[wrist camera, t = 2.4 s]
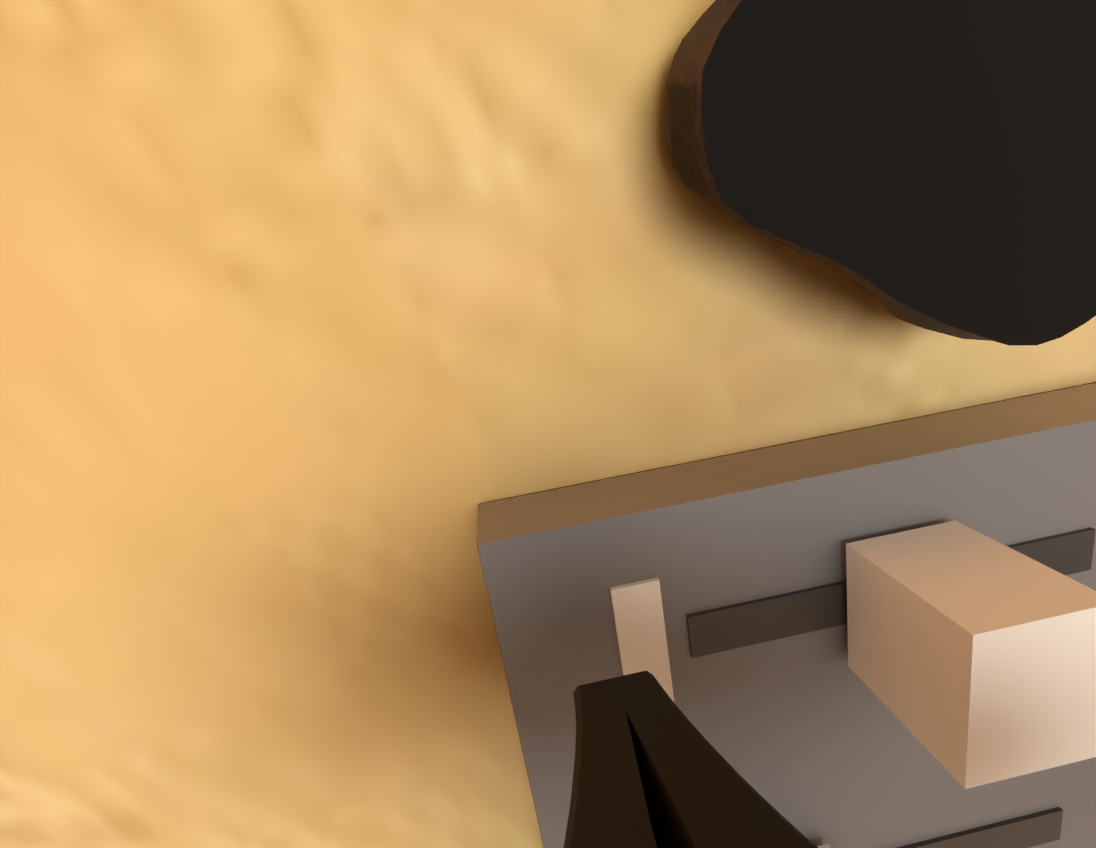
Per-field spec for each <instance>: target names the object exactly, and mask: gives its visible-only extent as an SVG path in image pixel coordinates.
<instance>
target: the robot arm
mask: <svg viewBox="0 0 1096 848" xmlns="http://www.w3.org/2000/svg"><path fill="white" fill-rule="evenodd" d="M573 696H574V702H575V713H576V743H575V761H574V772H573V782H572V792H571V802H570V809H569V816H568V822H567V829H566V835H565V841H564V847H563V848H818V847H817V846H816V845H814V844H813V843H812V842H811V841H810V840H809V839H808V838H806V837H805V836H804V835H803V834H802V833H801V832H800V831H799V830H798V829H796V828H795V827H794V826H793V825H792V824H791V823H790V822H789V821H788V820H786V819H785V818H784V817H783V816H782V815H781V814H780V813H779V812H778V811H777V810H776V809H775V808H774V807H773V806H772V805H770V804H769V803H768V802H767V801H766V800H765V799H764V798H763V797H762V796H761V795H760V794H759V793H758V792H757V791H756V790H755V789H754V788H753V787H752V786H751V785H750V784H749V783H748V782H747V781H746V780H745V779H744V778H743V777H742V776H741V775H740V774H739V773H738V772H737V771H736V770H735V769H734V768H733V767H732V766H731V765H730V764H729V763H728V762H727V761H726V760H725V759H724V758H723V757H722V756H721V755H720V754H719V752H718V751H717V750H716V749H715V748H714V747H713V746H712V745H711V744H710V743H709V742H708V741H707V740H706V739H705V738H704V736H703V735H702V734H701V733H700V732H699V731H698V730H697V729H696V728H695V726H694V725H693V724H692V723H691V722H690V721H689V719H688V718H687V717H686V716H685V715H684V714H683V713H682V711H681V710H680V709H679V708H678V707H677V705H676V704H675V703H674V702H673V701H672V699H671V698H670V697H669V695H668V694H667V693H666V692H665V690H664V689H663V688H662V686H661V685H660V684H659V682H658V681H657V680H656V678H655V677H654V675H653V674H651V673H649V672H648V671H642V672H637V673H633V674H628V675H624V676H619V677H615V678H610V679H606V680H602V681H597V682H593V683H588V684H584V685H579V686H578V687H577V688H576V689H575V691H574V692H573Z"/></svg>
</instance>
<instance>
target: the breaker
mask: <svg viewBox="0 0 1096 848" xmlns="http://www.w3.org/2000/svg"><path fill="white" fill-rule="evenodd" d="M818 848H830V846H829V844H826V845H822V846H818Z"/></svg>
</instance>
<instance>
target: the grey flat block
mask: <svg viewBox="0 0 1096 848" xmlns="http://www.w3.org/2000/svg"><path fill="white" fill-rule="evenodd" d="M955 520H956V521H958V522H960V523H962V524H964V525H966V526H968V527H970V528H972V529H974V530H976V531H978V532H980V533H982V534H984V535H986V536H988V537H990V538H992V539H994V540H996V541H998V542H1000V543H1002V544H1004V545H1006V546H1008V547H1010V548H1012V549H1014V550H1016V551H1018V552H1020V553H1022V554H1024V555H1026V556H1027V557H1029V558H1031V559H1033V560H1035V561H1037V562H1039V563H1041V564H1043V565H1045V566H1047V567H1049V568H1051V569H1053V570H1055V571H1057V572H1059V573H1061V574H1063V575H1065V576H1067V577H1069V578H1071V579H1073V580H1075V581H1077V582H1079V583H1081V584H1083V585H1085V586H1087V587H1089V588H1091V589H1093V590H1095V591H1096V383H1091V384H1086V385H1081V386H1076V387H1070V388H1065V389H1060V390H1055V391H1050V392H1045V393H1040V394H1035V395H1030V396H1025V397H1020V398H1015V399H1010V400H1004V401H999V402H994V403H989V404H984V405H979V406H974V407H969V408H964V409H959V410H954V411H949V412H944V413H939V414H933V415H928V416H923V417H918V418H913V419H908V420H903V421H898V422H893V423H888V424H883V425H878V426H873V427H867V428H862V429H857V430H852V431H847V432H842V433H837V434H832V435H827V436H822V437H817V438H812V439H807V440H802V441H796V442H791V443H786V444H781V445H776V446H771V447H766V448H761V449H756V450H751V451H746V452H741V453H736V454H730V455H725V456H720V457H715V458H710V459H705V460H700V461H695V462H690V463H685V464H680V465H675V466H670V467H665V468H659V469H654V470H649V471H644V472H639V473H634V474H629V475H624V476H619V477H614V478H609V479H604V480H599V481H593V482H588V483H583V484H578V485H573V486H568V487H563V488H558V489H553V490H548V491H543V492H538V493H533V494H528V495H522V496H517V497H512V498H507V499H502V500H497V501H492V502H487V503H482V504H478V535H477V546H478V551H479V555H480V560H481V564H482V569H483V574H484V578H485V583H486V587H487V592H488V596H489V601H490V605H491V610H492V614H493V619H494V624H495V628H496V633H497V637H498V642H499V646H500V651H501V655H502V660H503V664H504V669H505V674H506V678H507V683H508V687H509V692H510V696H511V701H512V705H513V710H514V714H515V719H516V724H517V728H518V733H519V737H520V742H521V746H522V751H523V755H524V760H525V764H526V769H527V774H528V778H529V783H530V787H531V792H532V796H533V801H534V805H535V810H536V814H537V819H538V824H539V828H540V833H541V837H542V842H543V846H544V848H563V847H564V841H565V835H566V829H567V822H568V816H569V809H570V802H571V792H572V782H573V772H574V761H575V743H576V713H575V702H574V696H573V692H574V691H575V689H576V688H577V687H578V686H579V685H584V684H588V683H593V682H597V681H602V680H606V679H610V678H615V677H619V676H624V675H628V674H633V673H637V672H642V671H648V672H649V673H651V674H653V675H654V677H655V678H656V680H657V681H658V682H659V684H660V685H661V686H662V688H663V689H664V690H665V692H666V693H667V694H668V695H669V697H670V698H671V699H672V701H673V702H674V703H675V704H676V705H677V707H678V708H679V709H680V710H681V711H682V713H683V714H684V715H685V716H686V717H687V718H688V719H689V721H690V722H691V723H692V724H693V725H694V726H695V728H696V729H697V730H698V731H699V732H700V733H701V734H702V735H703V736H704V738H705V739H706V740H707V741H708V742H709V743H710V744H711V745H712V746H713V747H714V748H715V749H716V750H717V751H718V752H719V754H720V755H721V756H722V757H723V758H724V759H725V760H726V761H727V762H728V763H729V764H730V765H731V766H732V767H733V768H734V769H735V770H736V771H737V772H738V773H739V774H740V775H741V776H742V777H743V778H744V779H745V780H746V781H747V782H748V783H749V784H750V785H751V786H752V787H753V788H754V789H755V790H756V791H757V792H758V793H759V794H760V795H761V796H762V797H763V798H764V799H765V800H766V801H767V802H768V803H769V804H770V805H772V806H773V807H774V808H775V809H776V810H777V811H778V812H779V813H780V814H781V815H782V816H783V817H784V818H785V819H786V820H788V821H789V822H790V823H791V824H792V825H793V826H794V827H795V828H796V829H798V830H799V831H800V832H801V833H802V834H803V835H804V836H805V837H806V838H808V839H809V840H810V841H811V842H812V843H813V844H814V845H816V846H817V847H818V846H822V845H826V844H829V846H830V848H1096V757H1094V758H1090V759H1086V760H1082V761H1078V762H1074V763H1070V764H1066V765H1062V766H1058V767H1054V768H1050V769H1045V770H1041V771H1037V772H1033V773H1029V774H1025V775H1021V776H1017V777H1013V778H1009V779H1005V780H1001V781H997V782H993V783H989V784H985V785H981V786H977V787H972V788H968V789H964V788H963V786H962V785H961V784H960V783H959V782H958V781H957V780H956V779H955V778H954V777H953V776H952V775H951V774H950V773H949V772H948V771H947V770H946V769H945V768H944V767H943V765H942V764H941V763H940V762H939V761H938V760H937V759H936V758H935V757H934V756H933V755H932V754H931V753H930V752H929V751H928V750H927V749H926V748H925V747H924V745H923V744H922V743H921V742H920V741H919V740H918V739H917V738H916V737H915V736H914V735H913V734H912V733H911V732H910V731H909V730H908V729H907V728H906V727H905V725H904V724H903V723H902V722H901V721H900V720H899V719H898V718H897V717H896V716H895V715H894V714H893V713H892V712H891V711H890V710H889V709H888V708H887V707H886V705H885V704H884V703H883V702H882V701H881V700H880V699H879V698H878V697H877V696H876V695H875V694H874V693H873V692H872V691H871V690H870V689H869V688H868V687H867V685H866V684H865V683H864V682H863V681H862V680H861V679H860V678H859V677H858V676H857V675H856V674H855V673H854V672H853V671H852V670H851V669H850V668H849V667H848V627H847V576H846V543H851V542H856V541H860V540H865V539H870V538H875V537H879V536H884V535H889V534H894V533H898V532H903V531H908V530H912V529H917V528H922V527H927V526H931V525H936V524H941V523H946V522H950V521H955Z"/></svg>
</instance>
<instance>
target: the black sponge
mask: <svg viewBox="0 0 1096 848" xmlns="http://www.w3.org/2000/svg"><path fill="white" fill-rule="evenodd" d="M665 115H666V129H667V140H668V150H669V154H670V157H671V160H672V163H673V166H674V168H675V170H676V172H677V173H678V175H679V176H680V178H681V180H682V181H683V183H684V184H685V186H686V187H688V188H689V189H691V190H692V191H694V192H695V193H697V194H698V195H700V196H701V197H703V198H704V199H706V200H707V201H709V202H710V203H712V204H713V205H715V206H716V207H717V208H719V209H720V210H722V211H723V212H725V213H726V214H727V215H729V216H730V217H732V218H733V219H734V220H736V221H737V222H739V223H740V224H742V225H744V226H746V227H748V228H750V229H752V230H754V231H756V232H758V233H760V234H762V235H764V236H766V237H768V238H770V239H772V240H773V241H776V242H778V243H780V244H783V245H785V246H788V247H790V248H793V249H795V250H797V251H800V252H802V253H805V254H807V255H810V256H812V257H815V258H817V259H819V260H822V261H824V262H827V263H829V264H832V265H834V266H836V267H838V268H839V269H841V270H842V271H843V272H845V273H846V274H847V275H848V276H850V277H851V278H852V279H854V280H855V281H856V282H858V283H859V284H860V285H862V286H863V287H864V288H866V289H867V290H868V291H869V292H871V293H872V294H873V295H875V296H876V297H877V298H878V299H879V300H880V302H881V303H882V304H883V305H884V307H885V308H886V309H887V311H888V312H890V313H891V314H892V315H893V316H895V317H897V318H898V319H901V320H903V321H906V322H909V323H911V324H914V325H917V326H919V327H922V328H925V329H928V330H932V331H936V332H940V333H944V334H947V335H951V336H955V337H959V338H963V339H976V340H990V341H996V342H999V343H1003V344H1006V345H1038V344H1042V343H1045V342H1048V341H1051V340H1054V339H1057V338H1060V337H1062V336H1064V335H1065V334H1067V333H1069V332H1071V331H1072V330H1074V329H1076V328H1078V327H1079V326H1081V325H1083V324H1084V323H1086V322H1087V321H1089V320H1090V319H1091V318H1093V317H1094V316H1096V0H716V1H715V2H714V3H713V4H712V5H711V6H710V7H709V8H708V9H707V11H706V12H705V13H704V14H703V15H702V16H701V17H700V18H699V20H698V21H697V22H696V23H695V25H694V26H693V27H692V28H691V30H690V31H689V32H688V33H687V35H686V36H685V37H684V38H683V40H682V42H681V44H680V46H679V48H678V50H677V52H676V54H675V56H674V60H673V63H672V67H671V70H670V74H669V78H668V81H667V90H666V102H665Z"/></svg>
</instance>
